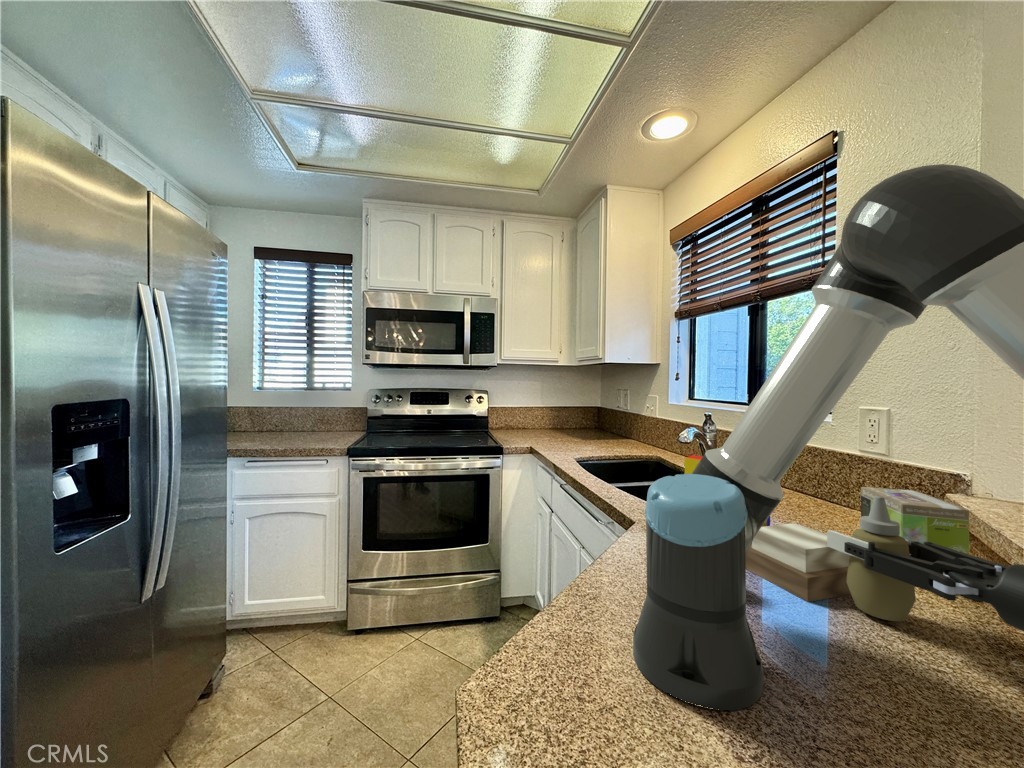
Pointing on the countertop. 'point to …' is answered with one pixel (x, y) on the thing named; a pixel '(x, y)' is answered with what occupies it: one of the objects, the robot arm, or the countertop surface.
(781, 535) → the box on wooden base
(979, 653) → the countertop surface
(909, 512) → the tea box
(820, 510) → the countertop surface
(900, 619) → the squeeze bottle
